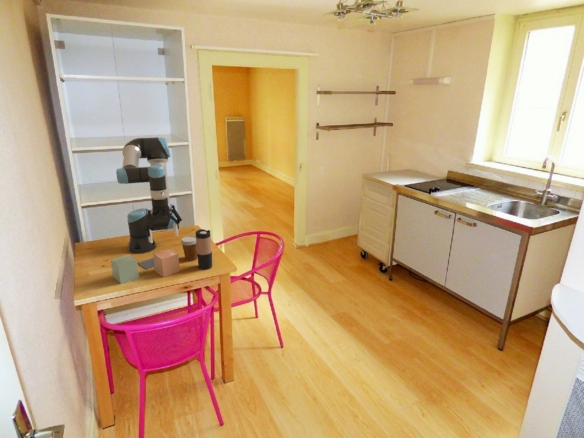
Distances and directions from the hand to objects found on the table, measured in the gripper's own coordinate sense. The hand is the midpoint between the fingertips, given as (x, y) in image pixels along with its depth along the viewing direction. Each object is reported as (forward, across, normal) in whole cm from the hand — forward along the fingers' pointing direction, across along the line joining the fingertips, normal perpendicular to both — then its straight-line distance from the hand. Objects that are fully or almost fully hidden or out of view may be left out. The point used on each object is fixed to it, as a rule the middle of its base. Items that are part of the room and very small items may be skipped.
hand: (164, 238), depth 186 cm
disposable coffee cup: (+18, +17, +5) cm, 26 cm away
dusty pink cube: (+18, 0, 0) cm, 18 cm away
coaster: (+18, -2, +15) cm, 24 cm away
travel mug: (+19, +17, -9) cm, 27 cm away
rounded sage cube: (+18, -18, +8) cm, 27 cm away
